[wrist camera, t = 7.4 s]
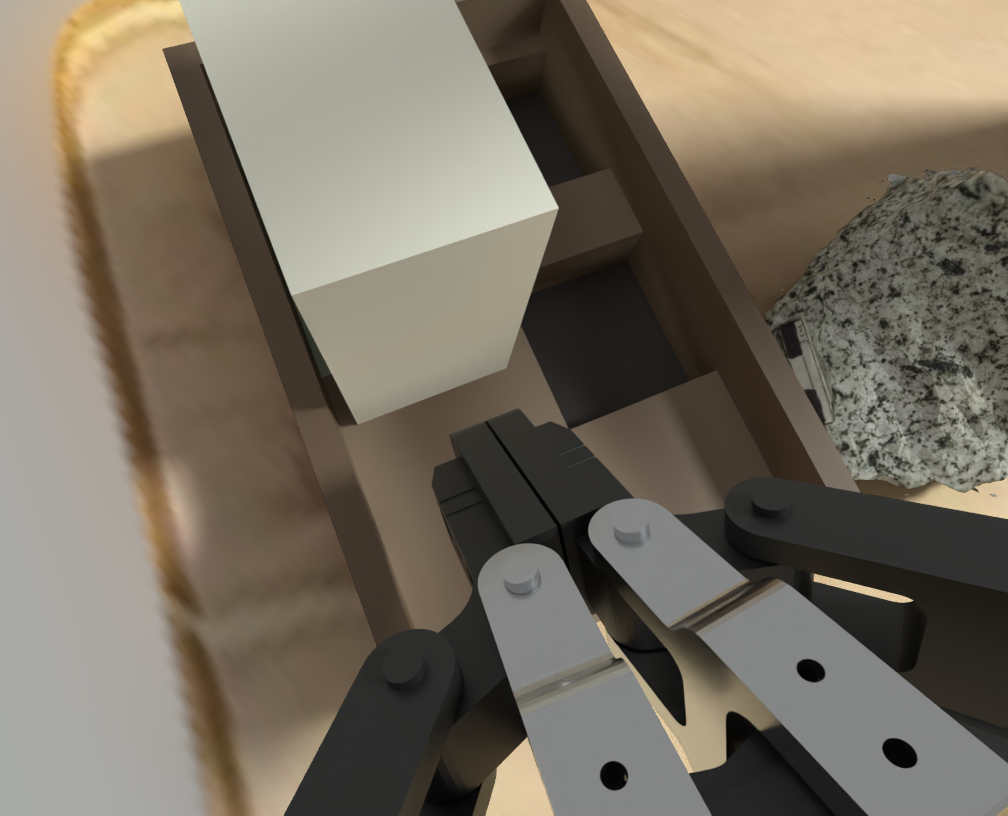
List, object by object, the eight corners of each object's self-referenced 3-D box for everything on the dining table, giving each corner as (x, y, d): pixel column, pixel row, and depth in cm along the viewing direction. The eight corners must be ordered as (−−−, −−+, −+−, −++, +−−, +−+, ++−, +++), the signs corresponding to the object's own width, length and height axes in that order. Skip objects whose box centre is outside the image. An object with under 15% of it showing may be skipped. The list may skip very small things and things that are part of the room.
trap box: (541, 57, 23) (561, -45, 20) (783, 520, 19) (868, 506, 16) (212, 146, 21) (162, 49, 17) (414, 697, 17) (407, 730, 13)
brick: (383, 96, 20) (350, -207, 12) (506, 368, 18) (559, 208, 10) (245, 134, 19) (115, -169, 11) (357, 424, 17) (291, 296, 9)
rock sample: (677, 281, 17) (1094, 141, 12) (713, 236, 23) (999, 131, 19) (782, 587, 20) (1162, 562, 15) (788, 471, 26) (1057, 428, 21)
